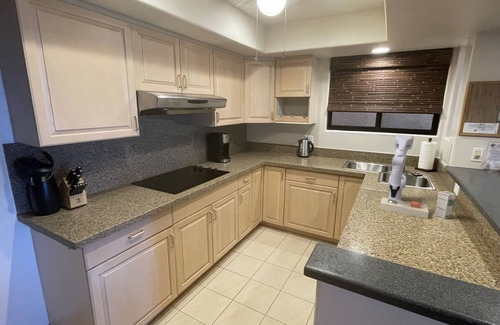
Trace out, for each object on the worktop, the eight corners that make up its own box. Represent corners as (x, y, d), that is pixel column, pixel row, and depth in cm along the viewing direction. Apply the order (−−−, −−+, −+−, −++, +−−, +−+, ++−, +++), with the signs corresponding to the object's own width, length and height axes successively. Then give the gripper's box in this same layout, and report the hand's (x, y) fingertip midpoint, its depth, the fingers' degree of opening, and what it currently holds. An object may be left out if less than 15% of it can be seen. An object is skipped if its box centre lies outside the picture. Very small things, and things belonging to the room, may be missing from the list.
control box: (381, 203, 160) (382, 197, 159) (425, 211, 148) (427, 205, 147) (379, 209, 150) (380, 202, 149) (427, 218, 138) (428, 212, 137)
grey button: (387, 205, 155) (388, 198, 154) (396, 207, 153) (397, 200, 152) (386, 208, 151) (387, 201, 150) (396, 210, 148) (397, 203, 148)
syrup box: (444, 218, 138) (449, 194, 135) (434, 214, 144) (438, 191, 141) (451, 217, 140) (457, 193, 137) (441, 213, 145) (446, 190, 142)
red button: (409, 207, 149) (410, 200, 148) (419, 209, 146) (421, 202, 145) (409, 210, 145) (411, 203, 144) (420, 212, 142) (421, 205, 141)
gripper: (389, 172, 156) (386, 192, 159) (388, 177, 144) (384, 199, 147) (402, 174, 152) (399, 194, 155) (402, 179, 140) (398, 201, 143)
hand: (393, 197), depth 151 cm, fingers closed
